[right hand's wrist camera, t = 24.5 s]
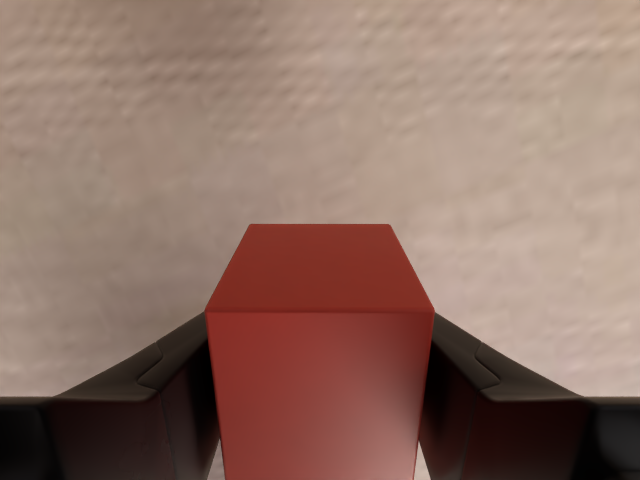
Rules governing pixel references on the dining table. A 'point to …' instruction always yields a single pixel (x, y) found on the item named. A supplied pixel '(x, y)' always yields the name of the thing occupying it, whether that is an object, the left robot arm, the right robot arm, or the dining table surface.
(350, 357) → the brick
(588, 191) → the dining table surface
